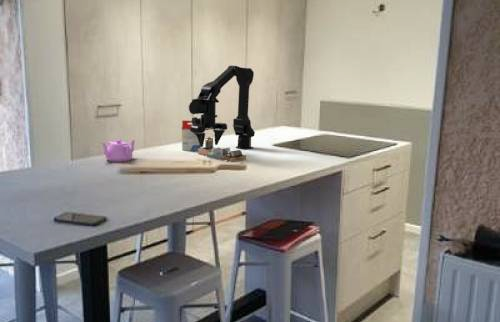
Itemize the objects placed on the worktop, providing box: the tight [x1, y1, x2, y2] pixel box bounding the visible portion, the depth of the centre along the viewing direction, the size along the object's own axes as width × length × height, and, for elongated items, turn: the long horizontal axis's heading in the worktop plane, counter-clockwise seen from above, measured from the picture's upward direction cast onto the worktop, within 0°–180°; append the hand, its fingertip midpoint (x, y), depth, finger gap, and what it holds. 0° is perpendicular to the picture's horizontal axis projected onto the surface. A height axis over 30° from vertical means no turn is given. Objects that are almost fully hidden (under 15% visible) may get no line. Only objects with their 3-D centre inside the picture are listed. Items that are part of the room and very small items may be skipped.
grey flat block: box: [206, 146, 226, 160], centre depth 243 cm, size 10×9×4 cm
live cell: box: [226, 149, 243, 158], centre depth 238 cm, size 7×4×4 cm, turn 138°
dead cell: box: [204, 136, 214, 150], centre depth 249 cm, size 4×4×8 cm
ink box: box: [181, 120, 202, 152], centre depth 257 cm, size 8×5×15 cm, turn 84°
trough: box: [221, 154, 247, 162], centre depth 238 cm, size 10×6×2 cm, turn 138°
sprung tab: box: [221, 147, 231, 156], centre depth 242 cm, size 5×1×3 cm, turn 138°
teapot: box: [100, 138, 137, 163], centre depth 232 cm, size 12×14×9 cm
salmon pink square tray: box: [197, 146, 215, 157], centre depth 249 cm, size 7×7×3 cm
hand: (209, 146), depth 249 cm, fingers open, 9 cm apart
